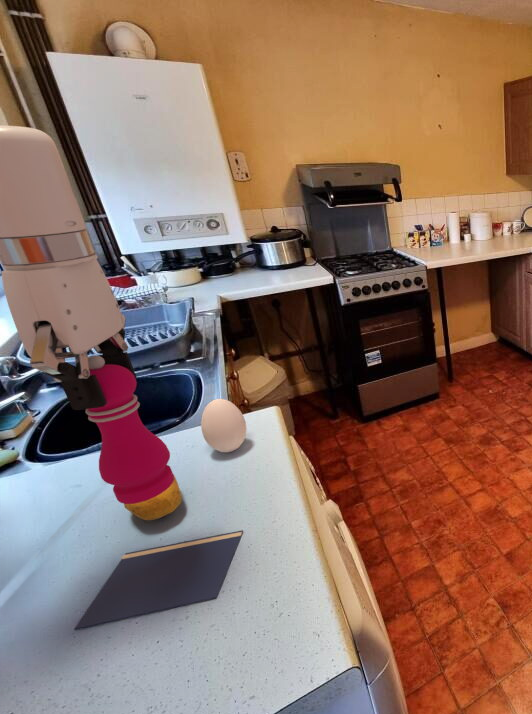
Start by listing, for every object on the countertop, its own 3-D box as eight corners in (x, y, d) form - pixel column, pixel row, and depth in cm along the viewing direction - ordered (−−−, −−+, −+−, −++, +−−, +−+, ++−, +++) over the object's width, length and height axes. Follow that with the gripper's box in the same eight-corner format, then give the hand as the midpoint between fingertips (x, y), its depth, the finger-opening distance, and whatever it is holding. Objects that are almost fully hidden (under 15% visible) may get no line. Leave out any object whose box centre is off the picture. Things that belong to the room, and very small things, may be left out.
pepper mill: (188, 482, 61) (140, 351, 54) (125, 515, 55) (61, 374, 48) (165, 465, 65) (117, 340, 57) (103, 494, 59) (42, 360, 52)
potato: (136, 543, 68) (120, 508, 65) (126, 498, 77) (111, 465, 75) (191, 518, 72) (178, 484, 70) (175, 478, 82) (163, 447, 79)
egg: (207, 465, 85) (189, 413, 81) (213, 444, 92) (197, 396, 87) (250, 454, 88) (235, 404, 84) (253, 435, 95) (239, 387, 90)
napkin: (74, 630, 55) (73, 628, 55) (126, 554, 66) (125, 552, 66) (216, 598, 59) (216, 596, 59) (243, 531, 70) (242, 529, 69)
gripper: (60, 240, 55) (111, 369, 61) (-70, 269, 39) (18, 437, 46) (129, 236, 57) (172, 362, 63) (31, 263, 41) (102, 426, 48)
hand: (106, 392), depth 55 cm, fingers closed on pepper mill, 6 cm apart
